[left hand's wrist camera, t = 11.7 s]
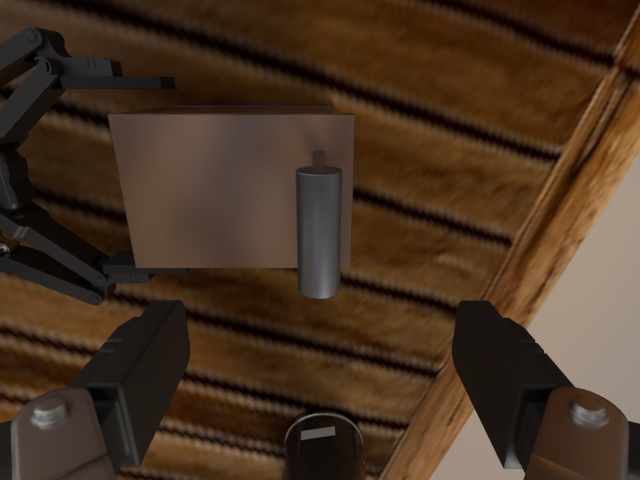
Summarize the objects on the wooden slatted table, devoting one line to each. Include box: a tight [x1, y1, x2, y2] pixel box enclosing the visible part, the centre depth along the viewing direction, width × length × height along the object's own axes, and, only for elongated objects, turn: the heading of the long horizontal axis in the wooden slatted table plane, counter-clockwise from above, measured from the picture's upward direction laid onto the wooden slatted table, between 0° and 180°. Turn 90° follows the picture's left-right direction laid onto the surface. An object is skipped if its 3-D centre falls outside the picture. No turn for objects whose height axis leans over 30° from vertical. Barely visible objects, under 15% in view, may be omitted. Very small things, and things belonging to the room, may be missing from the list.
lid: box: [108, 113, 355, 299], centre depth 22 cm, size 15×10×9 cm
